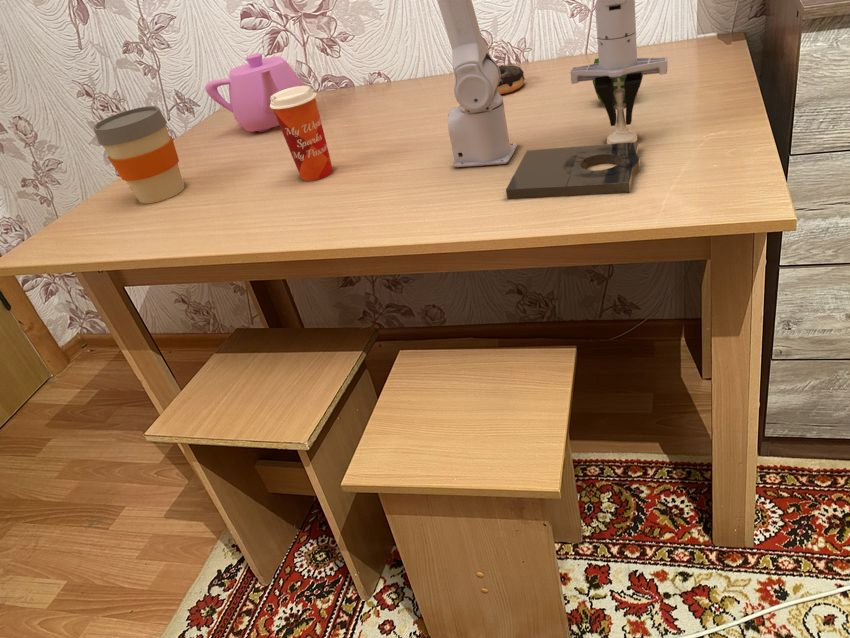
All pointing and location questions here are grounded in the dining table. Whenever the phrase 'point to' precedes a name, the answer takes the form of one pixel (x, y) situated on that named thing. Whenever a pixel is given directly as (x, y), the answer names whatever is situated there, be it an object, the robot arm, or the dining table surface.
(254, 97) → the teapot
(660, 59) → the robot arm
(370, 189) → the dining table surface
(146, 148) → the reusable coffee cup
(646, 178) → the dining table surface
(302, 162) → the coffee cup
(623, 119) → the chess piece
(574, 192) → the dark grey flat block
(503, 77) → the donut
